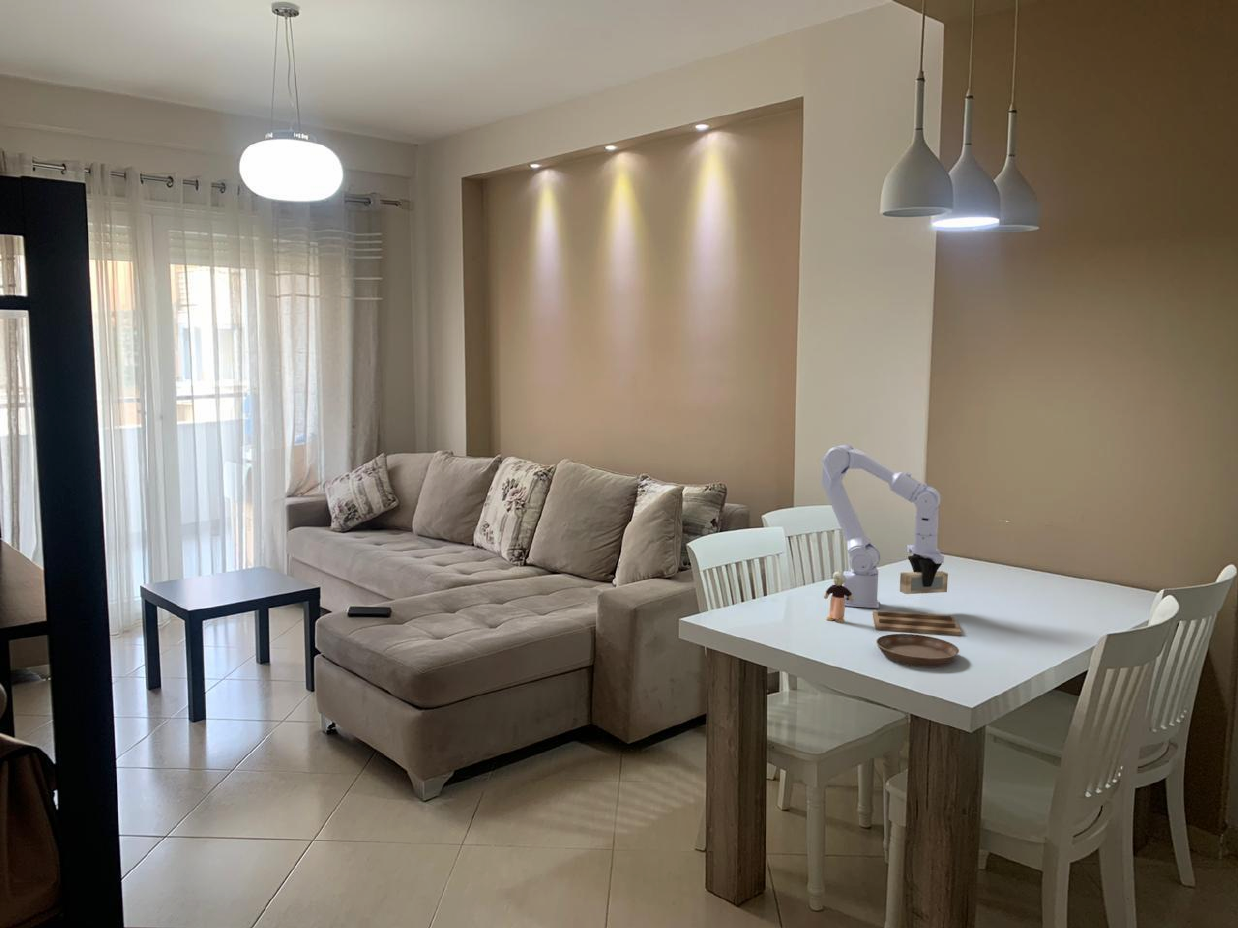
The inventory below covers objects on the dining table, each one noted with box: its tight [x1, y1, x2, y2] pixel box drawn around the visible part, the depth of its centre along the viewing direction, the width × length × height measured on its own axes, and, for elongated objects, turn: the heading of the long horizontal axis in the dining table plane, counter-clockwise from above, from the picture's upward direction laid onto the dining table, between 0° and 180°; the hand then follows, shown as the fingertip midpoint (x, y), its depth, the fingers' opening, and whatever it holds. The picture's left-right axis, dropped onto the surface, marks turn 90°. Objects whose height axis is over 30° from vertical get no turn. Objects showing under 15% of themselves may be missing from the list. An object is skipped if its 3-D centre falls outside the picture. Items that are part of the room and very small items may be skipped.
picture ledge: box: [872, 610, 962, 637], centre depth 229 cm, size 20×14×2 cm
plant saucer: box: [875, 633, 960, 668], centre depth 204 cm, size 18×18×3 cm
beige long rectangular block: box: [899, 570, 949, 595], centre depth 240 cm, size 12×3×5 cm, turn 102°
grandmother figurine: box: [823, 571, 854, 623], centre depth 231 cm, size 8×4×13 cm, turn 68°
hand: (923, 584), depth 240 cm, fingers closed on beige long rectangular block, 3 cm apart
